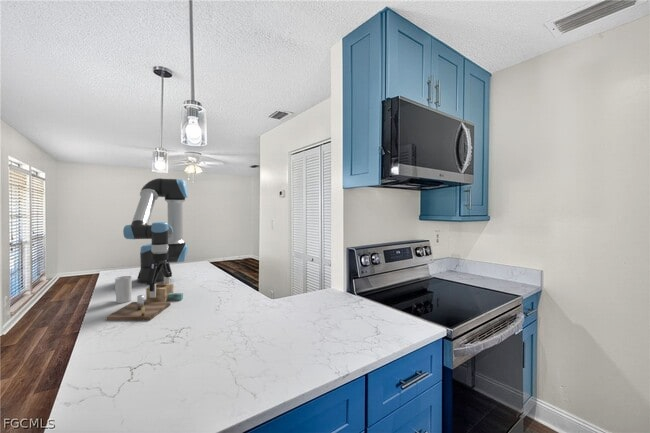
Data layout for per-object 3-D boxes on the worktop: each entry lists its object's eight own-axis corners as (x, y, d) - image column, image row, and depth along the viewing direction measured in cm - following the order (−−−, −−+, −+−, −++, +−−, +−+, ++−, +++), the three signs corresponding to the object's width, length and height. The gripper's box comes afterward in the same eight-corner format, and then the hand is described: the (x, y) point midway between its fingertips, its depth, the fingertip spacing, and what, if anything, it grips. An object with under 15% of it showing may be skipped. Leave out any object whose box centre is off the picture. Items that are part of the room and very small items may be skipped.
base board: (132, 304, 139) (132, 301, 139) (170, 305, 140) (170, 302, 140) (106, 320, 121) (106, 316, 121) (149, 320, 122) (149, 316, 122)
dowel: (142, 314, 124) (142, 307, 124) (145, 314, 124) (145, 307, 124) (140, 316, 123) (140, 308, 123) (143, 316, 123) (143, 308, 123)
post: (139, 307, 132) (139, 295, 131) (145, 307, 132) (145, 295, 132) (136, 309, 129) (136, 296, 129) (141, 309, 129) (141, 296, 129)
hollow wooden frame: (146, 302, 143) (146, 288, 143) (156, 296, 152) (156, 283, 152) (178, 302, 144) (177, 288, 143) (185, 296, 153) (185, 283, 152)
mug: (134, 300, 146) (134, 276, 145) (121, 304, 140) (120, 280, 139) (122, 297, 150) (122, 274, 149) (108, 300, 144) (108, 277, 143)
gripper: (154, 256, 134) (154, 301, 135) (178, 248, 159) (178, 286, 160) (137, 256, 134) (137, 301, 134) (164, 248, 159) (165, 286, 159)
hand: (160, 293), depth 147 cm, fingers open, 13 cm apart
